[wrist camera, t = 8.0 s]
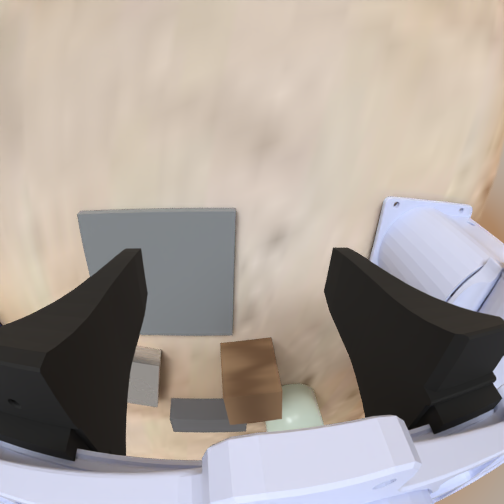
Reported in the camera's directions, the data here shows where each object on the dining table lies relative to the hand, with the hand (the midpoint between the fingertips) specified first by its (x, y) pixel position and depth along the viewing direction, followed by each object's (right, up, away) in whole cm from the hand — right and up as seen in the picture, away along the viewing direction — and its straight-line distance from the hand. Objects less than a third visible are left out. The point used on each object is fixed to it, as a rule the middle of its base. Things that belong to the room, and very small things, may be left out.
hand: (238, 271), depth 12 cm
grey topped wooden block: (-11, -10, +17) cm, 23 cm away
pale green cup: (+5, -16, +21) cm, 27 cm away
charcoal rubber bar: (-4, -16, +21) cm, 27 cm away
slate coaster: (-6, -1, +11) cm, 13 cm away
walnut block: (0, -9, +17) cm, 19 cm away
